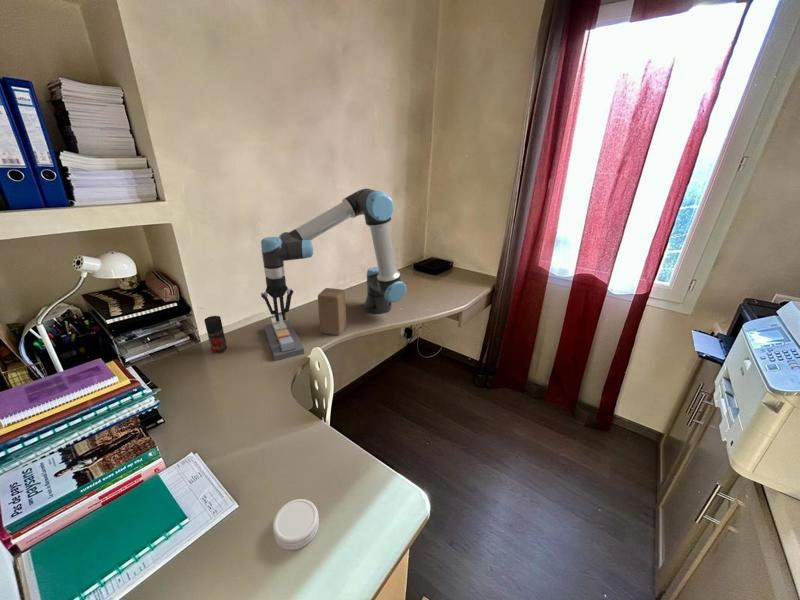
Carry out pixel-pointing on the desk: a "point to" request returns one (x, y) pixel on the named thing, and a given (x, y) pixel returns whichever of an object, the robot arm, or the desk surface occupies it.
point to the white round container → (296, 524)
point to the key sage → (277, 328)
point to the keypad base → (276, 347)
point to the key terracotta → (282, 334)
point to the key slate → (286, 343)
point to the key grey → (274, 322)
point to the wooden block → (332, 311)
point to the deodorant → (215, 334)
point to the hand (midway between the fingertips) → (281, 327)
